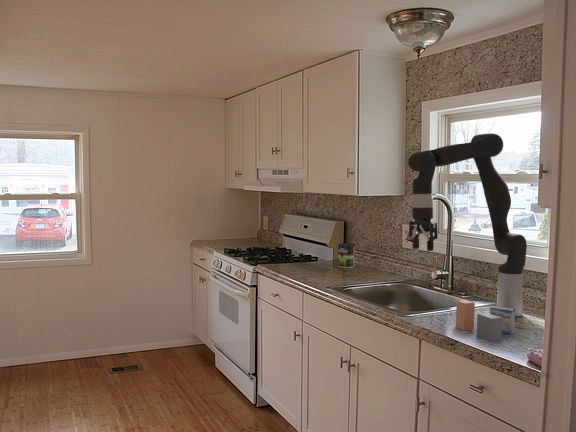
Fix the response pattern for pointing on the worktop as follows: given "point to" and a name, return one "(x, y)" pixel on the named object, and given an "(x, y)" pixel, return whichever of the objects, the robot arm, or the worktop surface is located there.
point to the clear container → (346, 255)
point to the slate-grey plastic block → (489, 327)
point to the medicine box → (505, 318)
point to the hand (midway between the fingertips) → (423, 249)
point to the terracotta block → (465, 315)
